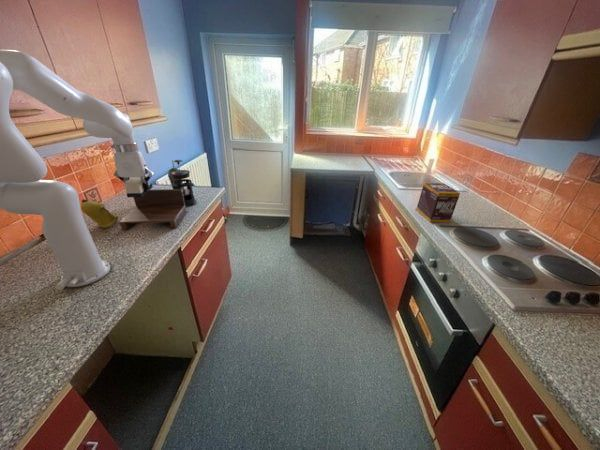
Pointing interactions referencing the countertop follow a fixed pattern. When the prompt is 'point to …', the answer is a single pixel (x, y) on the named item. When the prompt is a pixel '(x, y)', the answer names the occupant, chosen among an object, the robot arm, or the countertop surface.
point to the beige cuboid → (135, 187)
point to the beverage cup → (173, 178)
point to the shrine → (98, 213)
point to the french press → (188, 192)
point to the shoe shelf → (157, 208)
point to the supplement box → (437, 202)
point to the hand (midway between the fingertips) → (139, 190)
